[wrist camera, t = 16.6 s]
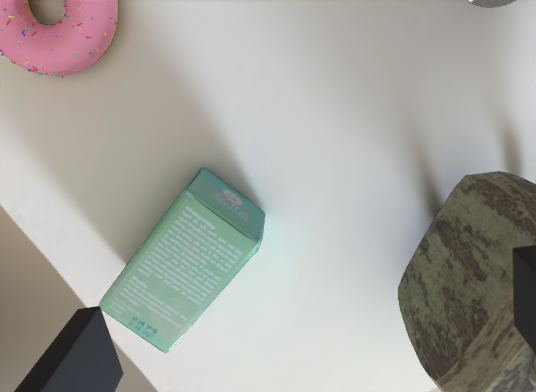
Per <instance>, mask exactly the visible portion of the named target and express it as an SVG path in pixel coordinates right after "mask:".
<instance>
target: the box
mask: <svg viewBox="0 0 536 392" xmlns="http://www.w3.org/2000/svg"><path fill="white" fill-rule="evenodd" d="M264 219H265V213H264V211H263V210H261V209H260V208H258V207H257V206H256V205H254V204H253V203H252V202H250V201H249V200H247V199H246V198H245V197H243V196H242V195H241V194H239V193H238V192H236V191H235V190H234V189H232V188H231V187H230V186H228V185H227V184H226V183H224V182H223V181H221V180H220V179H219V178H218V177H216V176H215V175H214V174H212V173H211V172H210V171H208V170H207V169H204V168H201V169H200V170H199V171H198V172H197V173H196V174H195V176H194V177H193V178H192V179H191V181H190V182H189V183H188V185H187V186H186V187H185V189H184V190H183V191H182V192H181V194H180V195H179V196H178V198H177V199H176V200H175V202H174V203H173V204H172V206H171V207H170V208H169V209H168V211H167V212H166V213H165V215H164V216H163V217H162V219H161V220H160V221H159V223H158V224H157V225H156V227H155V228H154V229H153V231H152V232H151V233H150V235H149V236H148V237H147V239H146V240H145V242H144V243H143V244H142V246H141V247H140V248H139V249H138V251H137V252H136V253H135V255H134V256H133V257H132V259H131V260H130V261H129V263H128V264H127V265H126V267H125V268H124V269H123V271H122V272H121V273H120V275H119V276H118V277H117V279H116V280H115V281H114V283H113V284H112V285H111V287H110V288H109V290H108V291H107V292H106V294H105V295H104V296H103V298H102V300H101V301H100V303H99V306H100V308H101V310H102V311H104V312H105V313H107V314H108V315H110V316H111V317H113V318H114V319H116V320H117V321H118V322H120V323H121V324H123V325H124V326H126V327H127V328H129V329H130V330H132V331H133V332H135V333H136V334H138V335H139V336H140V337H142V338H143V339H145V340H146V341H148V342H149V343H151V344H152V345H154V346H155V347H157V348H158V349H159V350H161V351H162V352H164V353H168V352H169V351H170V349H171V348H172V347H173V346H174V345H175V344H176V343H177V342H178V341H179V340H180V339H181V338H182V336H183V335H184V334H185V333H186V332H187V330H188V329H189V328H190V327H191V326H192V325H193V324H194V322H195V321H196V320H197V319H198V318H199V317H200V315H201V314H202V313H203V312H204V311H205V310H206V308H207V307H208V306H209V305H210V304H211V303H212V302H213V300H214V299H215V298H216V297H217V296H218V295H219V294H220V293H221V291H222V290H223V289H224V288H225V287H226V286H227V285H228V283H229V282H230V281H231V280H232V279H233V278H234V276H235V275H236V274H237V273H238V272H239V271H240V270H241V268H242V267H243V266H244V265H245V264H246V263H247V262H248V260H249V259H250V258H251V257H252V256H253V255H254V254H255V253H256V252H257V251H258V249H259V247H260V244H261V241H262V237H263V230H264Z"/></svg>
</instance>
